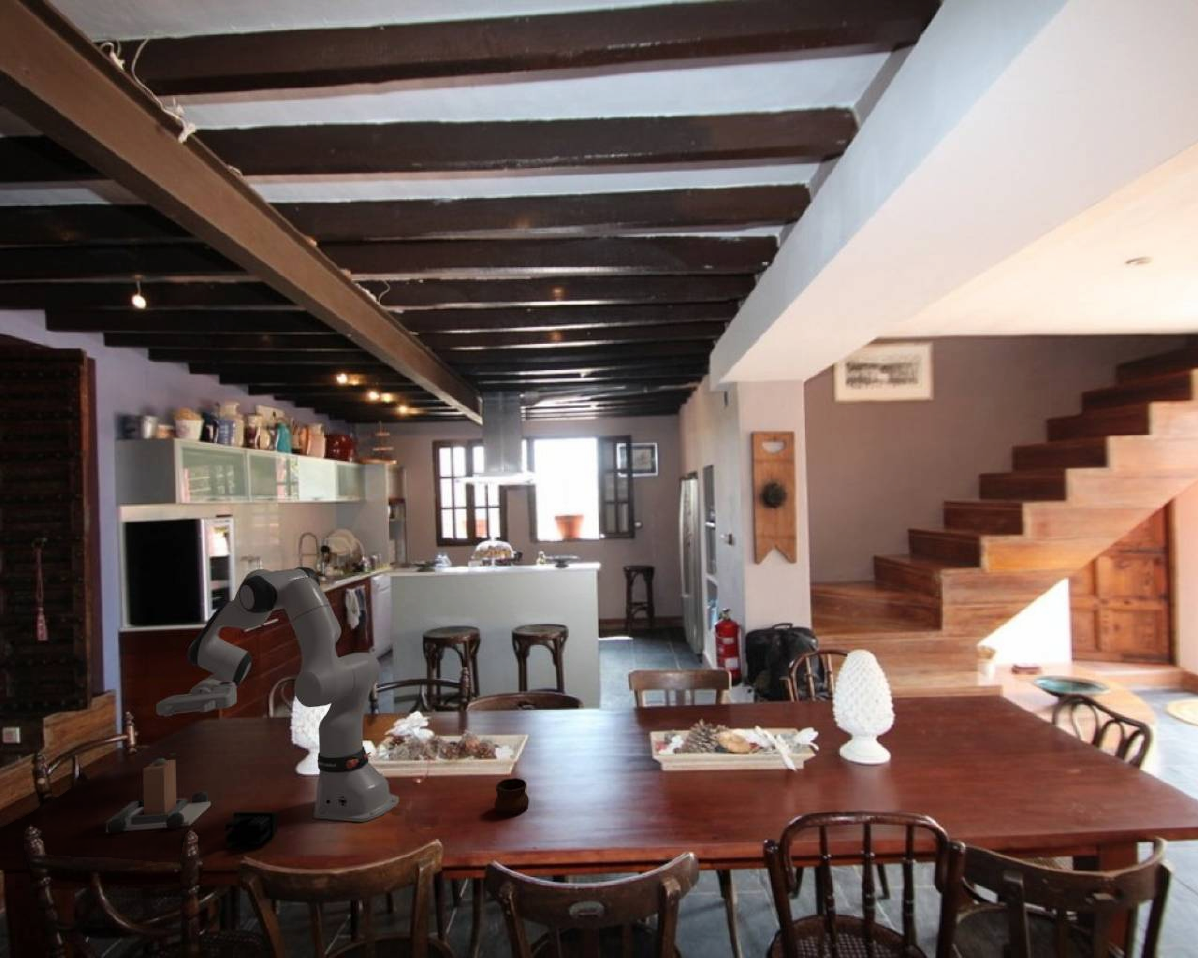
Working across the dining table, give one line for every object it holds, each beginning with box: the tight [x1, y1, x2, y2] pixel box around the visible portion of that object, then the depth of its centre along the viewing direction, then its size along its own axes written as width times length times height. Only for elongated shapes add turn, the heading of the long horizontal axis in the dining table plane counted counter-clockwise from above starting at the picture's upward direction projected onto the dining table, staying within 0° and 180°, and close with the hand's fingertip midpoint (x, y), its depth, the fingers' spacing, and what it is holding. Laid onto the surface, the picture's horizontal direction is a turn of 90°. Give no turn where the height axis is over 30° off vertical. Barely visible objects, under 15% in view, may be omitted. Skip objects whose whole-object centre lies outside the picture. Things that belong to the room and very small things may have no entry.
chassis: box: [105, 789, 212, 835], centre depth 183 cm, size 20×15×4 cm
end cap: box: [224, 811, 280, 850], centre depth 168 cm, size 10×7×7 cm
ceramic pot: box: [488, 777, 530, 817], centre depth 180 cm, size 18×18×7 cm
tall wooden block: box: [142, 757, 177, 815], centre depth 183 cm, size 6×5×14 cm
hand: (184, 711), depth 196 cm, fingers open, 8 cm apart
